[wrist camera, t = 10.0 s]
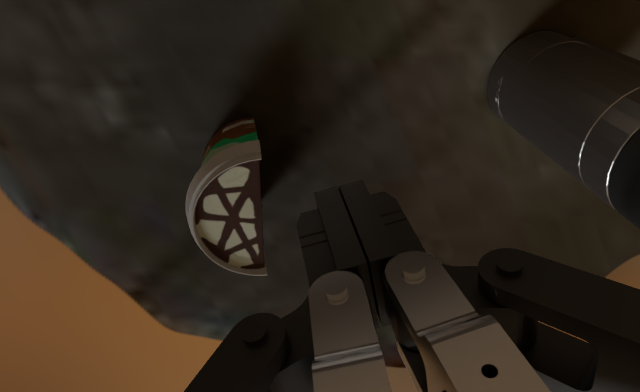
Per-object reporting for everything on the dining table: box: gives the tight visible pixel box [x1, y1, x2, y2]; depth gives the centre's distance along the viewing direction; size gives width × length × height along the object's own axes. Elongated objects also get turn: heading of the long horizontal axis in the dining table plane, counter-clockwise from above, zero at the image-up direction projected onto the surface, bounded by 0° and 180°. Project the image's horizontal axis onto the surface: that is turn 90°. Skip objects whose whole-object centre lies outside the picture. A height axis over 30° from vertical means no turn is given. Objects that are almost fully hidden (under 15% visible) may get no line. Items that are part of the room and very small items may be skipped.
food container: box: [185, 117, 267, 276], centre depth 41 cm, size 12×6×10 cm, turn 178°
